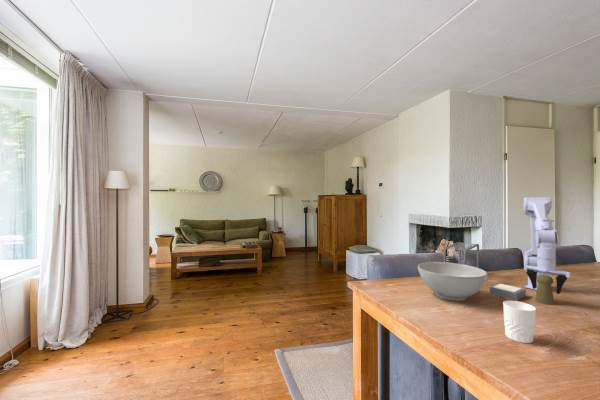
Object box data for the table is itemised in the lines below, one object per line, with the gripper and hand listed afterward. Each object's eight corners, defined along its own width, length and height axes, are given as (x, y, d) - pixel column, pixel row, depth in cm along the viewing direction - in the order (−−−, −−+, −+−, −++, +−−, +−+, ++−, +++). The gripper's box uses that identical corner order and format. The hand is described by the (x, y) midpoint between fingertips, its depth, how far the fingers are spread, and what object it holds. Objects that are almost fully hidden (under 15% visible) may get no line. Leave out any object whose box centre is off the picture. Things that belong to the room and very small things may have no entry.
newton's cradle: (466, 285, 134) (466, 250, 134) (443, 281, 141) (443, 247, 141) (479, 274, 155) (479, 243, 155) (458, 270, 163) (458, 241, 163)
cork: (558, 305, 109) (558, 278, 109) (541, 304, 110) (541, 277, 110) (547, 300, 114) (547, 274, 115) (531, 298, 116) (531, 273, 116)
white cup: (496, 332, 86) (496, 300, 86) (519, 331, 87) (519, 300, 87) (518, 345, 79) (518, 311, 79) (543, 344, 79) (543, 310, 79)
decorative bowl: (492, 295, 120) (492, 268, 120) (480, 313, 100) (480, 281, 100) (428, 282, 138) (428, 259, 138) (408, 296, 119) (408, 268, 119)
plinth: (499, 289, 128) (499, 282, 128) (525, 296, 119) (525, 288, 119) (489, 293, 122) (489, 286, 122) (516, 300, 114) (516, 292, 114)
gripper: (521, 256, 117) (521, 287, 117) (567, 262, 105) (567, 297, 105) (527, 254, 121) (527, 284, 121) (572, 260, 109) (572, 294, 109)
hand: (546, 290), depth 113 cm, fingers open, 7 cm apart
